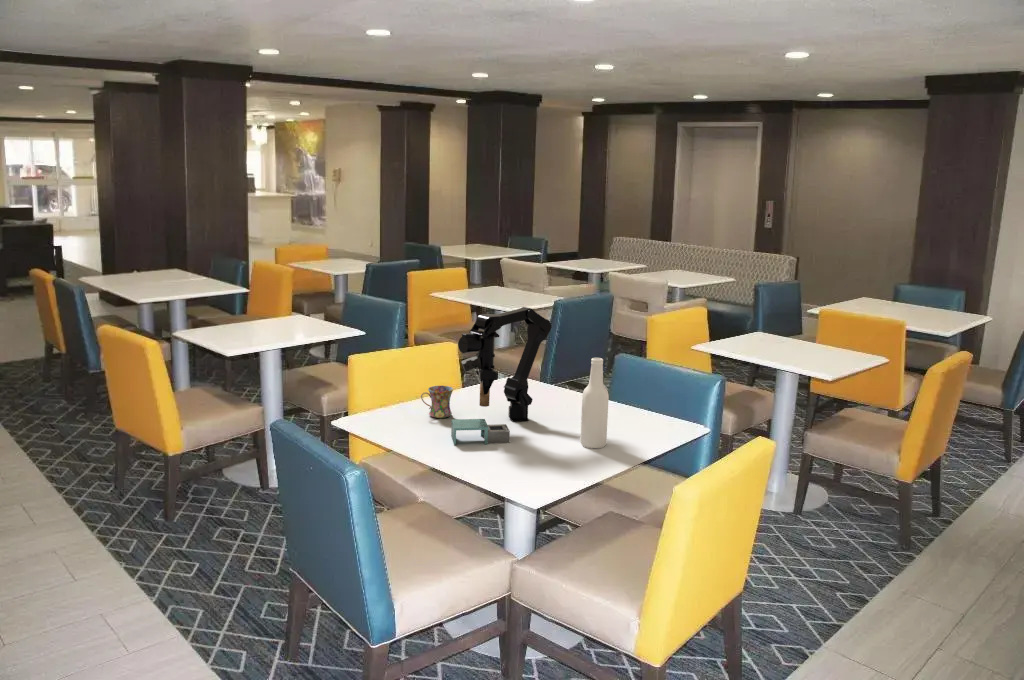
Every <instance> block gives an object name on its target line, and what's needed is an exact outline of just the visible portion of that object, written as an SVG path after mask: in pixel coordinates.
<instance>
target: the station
mask: <svg viewBox="0 0 1024 680" xmlns="http://www.w3.org/2000/svg"><path fill="white" fill-rule="evenodd" d="M450 423H451V424H450V425H451V426H450V427H451V431H450V432H451V434H450V435H451V436H450V437H451V441H452V444H453V446H457V431H480V437H483V439H484V445H485V446H486V445H487V444H500V443H501V444H505V443H506V444H507V443H508V444H509V443H510V441H511V440H510V439H511V438H510V435H511V434H510V433H511V432H510V429H509V427H508V426H507V424H506V423H505V424H504V423H503V424H501V423H500V424H498V423H497V424H488V423H487V422H486V419H485V418H463V419H451V422H450ZM487 446H488V445H487Z"/></svg>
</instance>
